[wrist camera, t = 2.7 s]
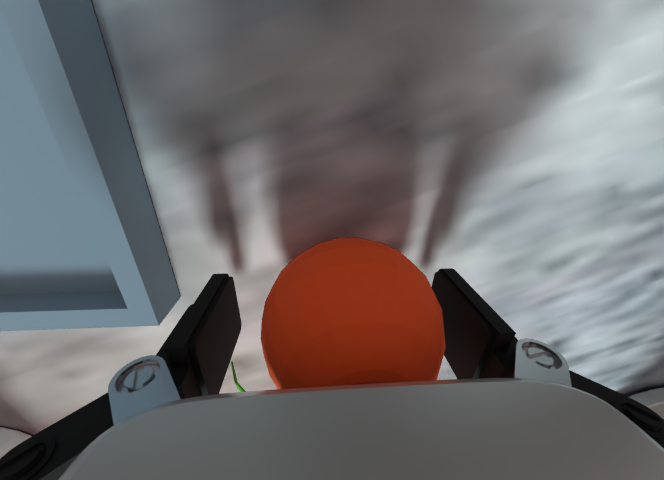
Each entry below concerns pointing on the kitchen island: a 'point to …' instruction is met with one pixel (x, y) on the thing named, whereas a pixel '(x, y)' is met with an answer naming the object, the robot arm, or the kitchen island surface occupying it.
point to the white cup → (10, 439)
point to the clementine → (351, 319)
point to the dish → (71, 181)
